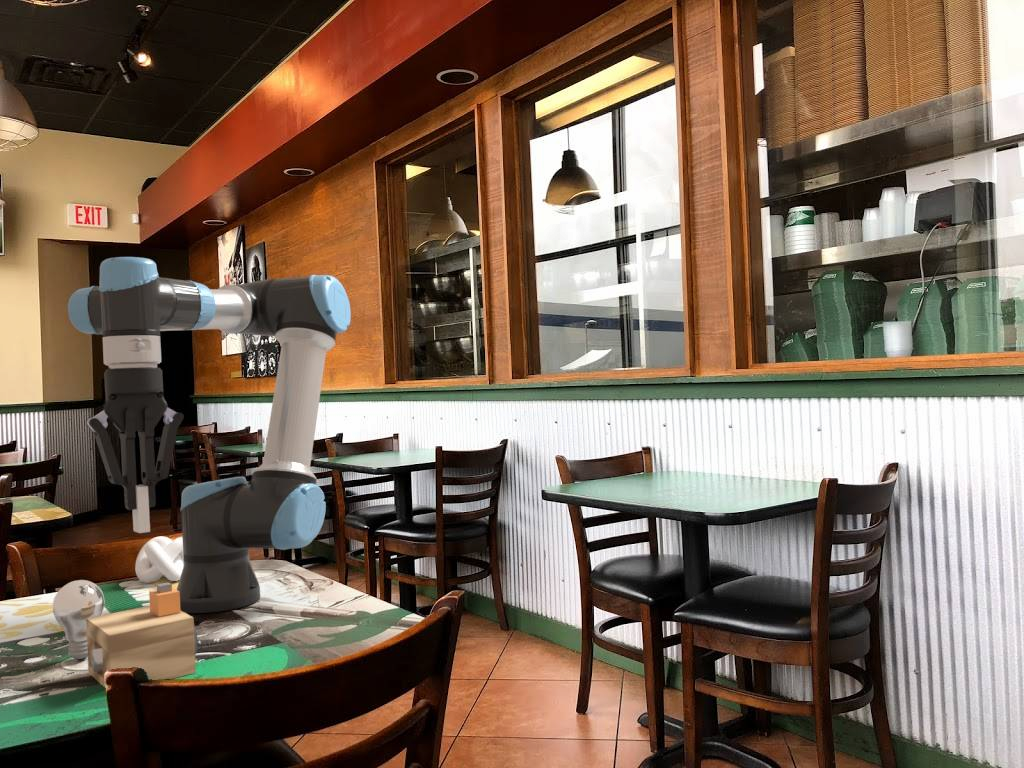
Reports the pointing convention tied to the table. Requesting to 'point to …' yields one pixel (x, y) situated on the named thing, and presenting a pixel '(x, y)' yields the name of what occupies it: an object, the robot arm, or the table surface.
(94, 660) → the pin
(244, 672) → the table surface
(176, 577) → the white knot sculpture
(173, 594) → the bar
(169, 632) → the block
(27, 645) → the table surface
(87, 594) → the light bulb
